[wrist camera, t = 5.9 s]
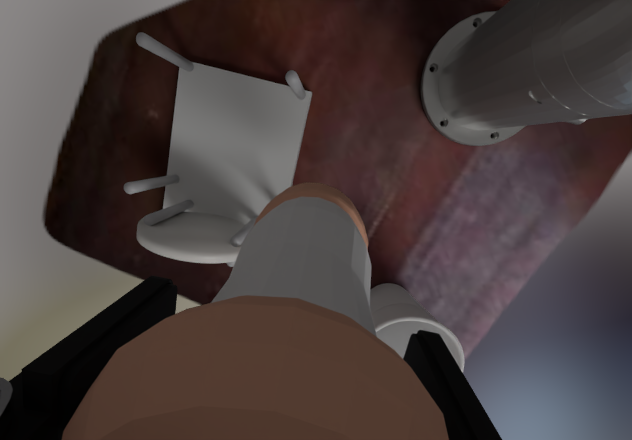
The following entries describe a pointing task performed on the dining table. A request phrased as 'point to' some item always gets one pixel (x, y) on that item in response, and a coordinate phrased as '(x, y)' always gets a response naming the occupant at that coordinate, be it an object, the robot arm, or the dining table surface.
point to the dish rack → (221, 159)
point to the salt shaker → (270, 347)
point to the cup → (406, 320)
